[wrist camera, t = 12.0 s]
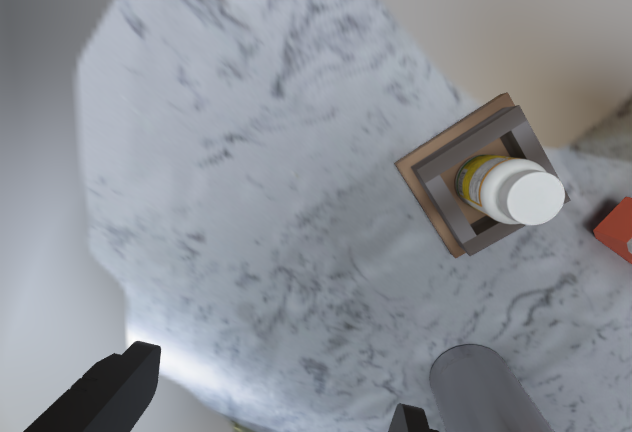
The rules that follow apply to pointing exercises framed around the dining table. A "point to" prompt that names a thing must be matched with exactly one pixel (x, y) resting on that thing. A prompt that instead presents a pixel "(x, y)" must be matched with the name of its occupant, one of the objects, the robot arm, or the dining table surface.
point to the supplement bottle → (510, 189)
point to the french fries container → (618, 229)
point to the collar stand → (451, 153)
